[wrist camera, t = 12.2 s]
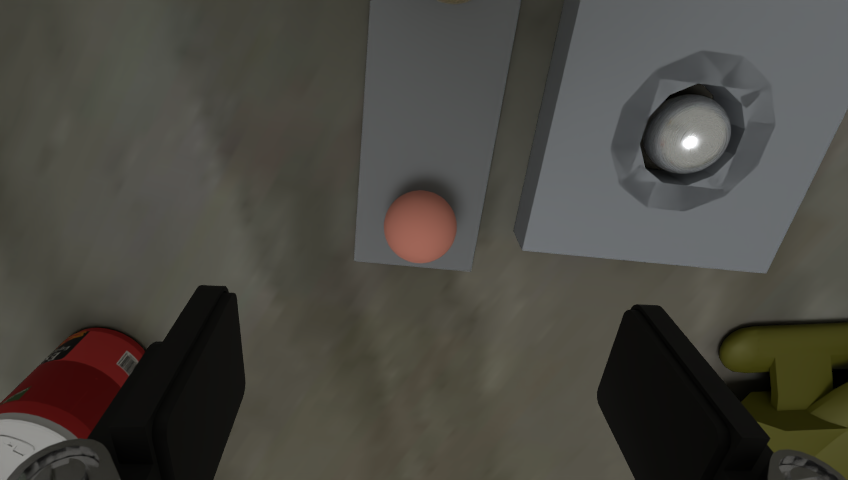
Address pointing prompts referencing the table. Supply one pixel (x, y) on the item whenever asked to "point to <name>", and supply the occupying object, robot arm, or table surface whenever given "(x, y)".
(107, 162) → the table surface
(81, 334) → the canned food
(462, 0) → the brass ball
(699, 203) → the board
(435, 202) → the rubber ball
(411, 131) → the mat
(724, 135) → the steel ball
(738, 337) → the spaceship
